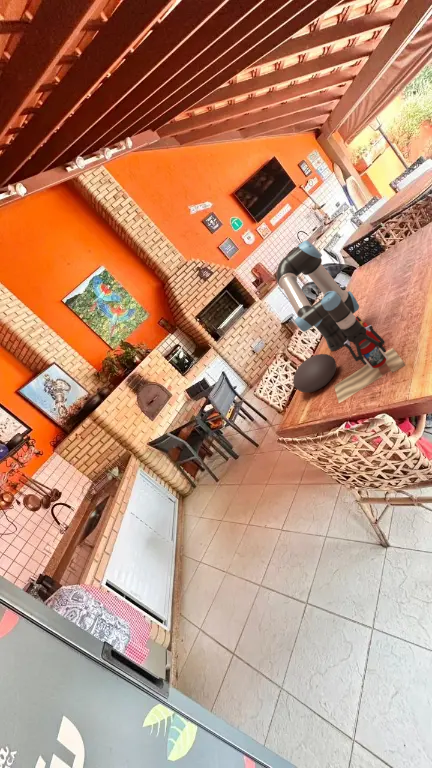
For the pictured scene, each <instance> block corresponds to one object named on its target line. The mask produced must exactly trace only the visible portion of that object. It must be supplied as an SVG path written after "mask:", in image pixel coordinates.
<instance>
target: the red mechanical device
mask: <svg viewBox="0 0 432 768" xmlns="http://www.w3.org/2000/svg"><path fill="white" fill-rule="evenodd" d="M355 317H356V319H357V320H358V321H359V322H360V324H361V325H362V326H363V327H368V326H369V324H367V322H365V321H363V320H362V319H361V317H360V316H355ZM366 335H368V336H369V337H371V338H373V339H374V340H376V341H378V342H380V340H379V339H378V338H377V337H376V336H375V335H374V334H373V333H372V332H371V331H368V330H366ZM364 341H366V339H364V340H362V341H361V342H360V343H359V346H360V345H361V344H362V343H363V342H364ZM352 344H353V345H354V346H355V347H356V345H355V343H354V342H352ZM376 346H377V345H376ZM382 346H383V347H384V348H385V346H384V344H383V345H382ZM377 347H378V346H377Z"/></svg>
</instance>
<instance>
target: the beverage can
mask: <svg viewBox="0 0 432 768" xmlns="http://www.w3.org/2000/svg"><path fill="white" fill-rule="evenodd" d="M359 347H360V350H361V354H362V357H363V356H364V357H365V359H366V360H367V361H368V362H369V364H370V365H371V366H372V367H373V368H379V367H381V366H382V365H384V364H385V362H386V358H385V356H384V355H383V354H382V353H381V351H380V350H379V349H378V347H377V346H376V345H375V344H374V343H372V342H370V341H368V340H366V341H364V342H363V343H362V344H361V345H360V346H359Z"/></svg>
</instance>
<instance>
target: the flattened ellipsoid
mask: <svg viewBox="0 0 432 768" xmlns="http://www.w3.org/2000/svg"><path fill="white" fill-rule="evenodd" d="M336 370H337V362H336V359H335V358H334V357H333V356H332V355H330V354H327V353H320V354H319V353H318V354H316V355H313V356H310V357H308V358H307V359H305V360H304V361H303V362H301V364H300V365H299V366H298V367H297V369H296V371H295V372H294V375H293V379H292V380H293V385H294V388H295V389H296V390H297V391H299V392H300V393H301V392H302V393H312V392H317V391H319V390H320V389H321V388H324V387H325V386H326V385H327V384H328V383H329V382H330V381H331V380H332V379H333V377H334V376H335V374H336Z"/></svg>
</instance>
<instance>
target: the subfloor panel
mask: <svg viewBox="0 0 432 768" xmlns="http://www.w3.org/2000/svg"><path fill="white" fill-rule="evenodd" d="M384 353H385V354H386V356H387V357H388V358H389V359H388V360H387V359H386V362H385V364H384V365H382V366H381V367H379V368H373V369H371V368H370V367H369V366H368V364H366V365H364V366H362V367H361V368H360V369H358V370H356V371H355V372H353V373H352V374H350V375H349V376H347V377H345V378H344V379H342V380H341V381H339V382H338V383H336V384H335V385H333V387H334V390H335V394H336V398H337V401H338V404H340V403H342V402H344V401H345V400H347V399H349V398H350V397H352V396H353V395H355V394H356V393H358V392H360V391H362V389H364V388H366V387H368V386H369V385H371V384H372V383H375V381H378V380H379V379H380V378H382V377H385V375H387V374H389V373H390V372H391V373H395V372H397V371H398V370H399V369H401V368H403V367H405V366H406V363H405V362H404V360H403V359H402V358H401V357H400V355H399V354H398V352H397V351H396V350H395V349H394V348H393V347H391V349H388V350H386V352H384Z"/></svg>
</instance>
